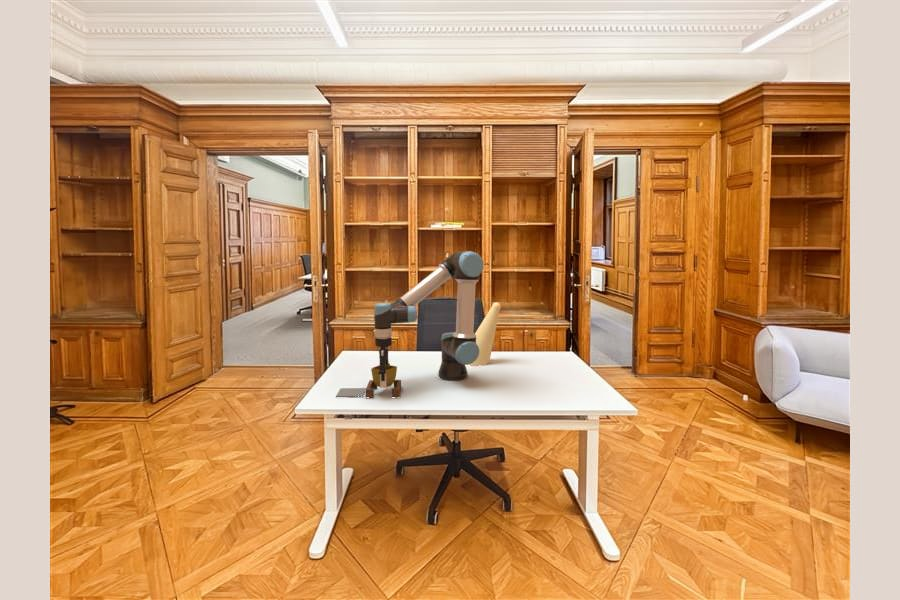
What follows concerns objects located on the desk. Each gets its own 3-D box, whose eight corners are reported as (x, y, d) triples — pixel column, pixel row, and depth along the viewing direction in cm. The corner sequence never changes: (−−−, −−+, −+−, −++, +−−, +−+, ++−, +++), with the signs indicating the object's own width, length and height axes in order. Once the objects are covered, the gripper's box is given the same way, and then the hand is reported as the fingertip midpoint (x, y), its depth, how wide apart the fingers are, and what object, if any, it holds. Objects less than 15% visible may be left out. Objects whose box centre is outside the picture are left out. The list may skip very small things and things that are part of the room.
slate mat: (366, 389, 236) (366, 388, 236) (362, 397, 224) (362, 396, 224) (340, 389, 236) (340, 388, 236) (335, 397, 224) (335, 396, 224)
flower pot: (398, 385, 232) (397, 366, 231) (386, 390, 224) (385, 370, 223) (383, 382, 236) (382, 363, 235) (371, 387, 229) (370, 368, 228)
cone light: (454, 365, 281) (454, 303, 276) (460, 357, 298) (460, 299, 294) (498, 367, 276) (499, 304, 272) (501, 359, 294) (502, 300, 289)
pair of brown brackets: (401, 387, 238) (401, 379, 238) (399, 397, 224) (399, 389, 223) (369, 388, 238) (369, 380, 237) (365, 398, 223) (365, 389, 222)
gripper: (377, 332, 239) (379, 376, 242) (371, 342, 216) (373, 391, 218) (393, 332, 239) (394, 376, 242) (389, 342, 216) (390, 391, 219)
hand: (384, 383), depth 230 cm, fingers closed on flower pot, 11 cm apart
